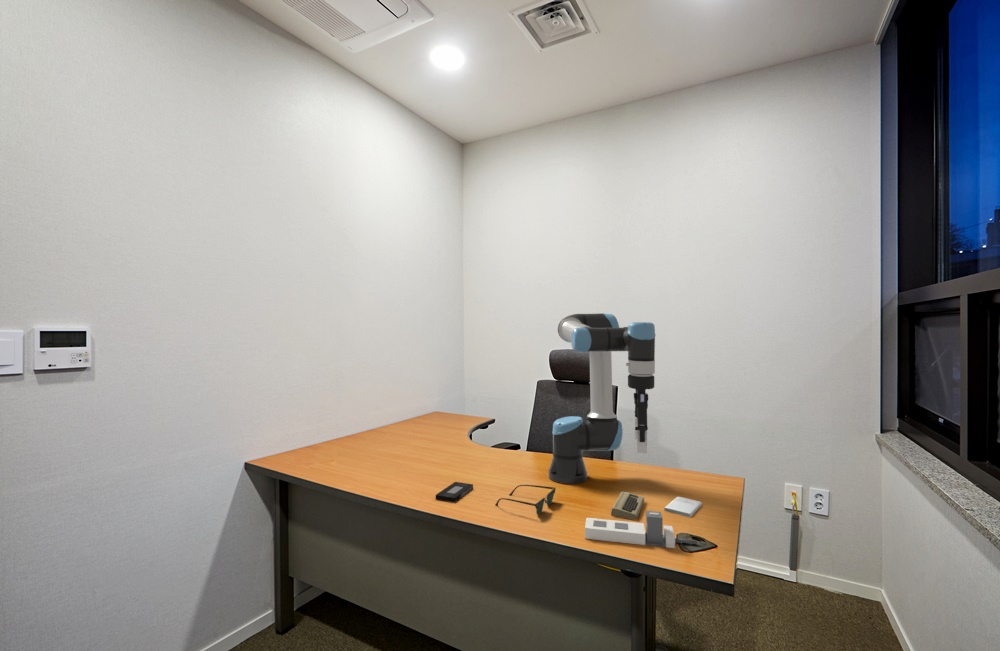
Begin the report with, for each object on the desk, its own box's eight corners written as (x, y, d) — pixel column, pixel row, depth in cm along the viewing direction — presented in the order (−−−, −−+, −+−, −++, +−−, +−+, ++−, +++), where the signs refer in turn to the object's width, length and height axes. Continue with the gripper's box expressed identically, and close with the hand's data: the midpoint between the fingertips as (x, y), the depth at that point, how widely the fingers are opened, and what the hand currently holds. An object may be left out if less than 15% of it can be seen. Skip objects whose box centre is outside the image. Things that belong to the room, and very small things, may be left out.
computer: (637, 521, 141) (637, 511, 141) (610, 517, 145) (610, 506, 145) (644, 503, 155) (644, 493, 155) (620, 499, 159) (620, 490, 159)
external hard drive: (664, 512, 148) (676, 500, 158) (690, 519, 143) (701, 506, 153) (664, 507, 148) (676, 495, 158) (690, 513, 143) (701, 501, 153)
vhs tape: (473, 489, 169) (473, 484, 169) (454, 503, 156) (454, 498, 156) (455, 487, 172) (455, 481, 172) (435, 500, 159) (435, 494, 159)
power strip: (586, 527, 136) (586, 517, 136) (694, 538, 129) (694, 527, 129) (584, 538, 130) (584, 527, 130) (699, 551, 122) (699, 539, 122)
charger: (646, 535, 131) (646, 510, 131) (660, 536, 130) (660, 511, 130) (647, 541, 127) (647, 515, 127) (662, 543, 126) (662, 517, 126)
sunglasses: (513, 493, 165) (512, 479, 165) (556, 501, 157) (556, 487, 157) (490, 509, 151) (490, 494, 151) (537, 520, 143) (537, 504, 143)
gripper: (626, 368, 148) (626, 433, 149) (629, 380, 124) (628, 457, 125) (651, 369, 146) (650, 434, 147) (658, 381, 122) (657, 460, 123)
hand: (640, 445), depth 136 cm, fingers open, 13 cm apart
